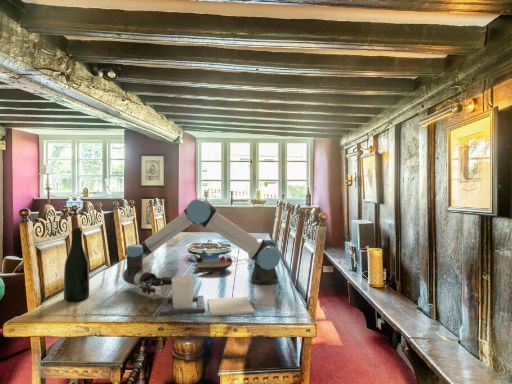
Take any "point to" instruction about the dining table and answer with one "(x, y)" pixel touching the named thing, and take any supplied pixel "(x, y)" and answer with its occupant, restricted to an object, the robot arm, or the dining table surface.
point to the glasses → (229, 259)
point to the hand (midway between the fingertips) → (173, 288)
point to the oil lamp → (211, 265)
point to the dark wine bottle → (76, 270)
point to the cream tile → (230, 306)
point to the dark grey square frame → (182, 310)
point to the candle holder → (182, 291)
